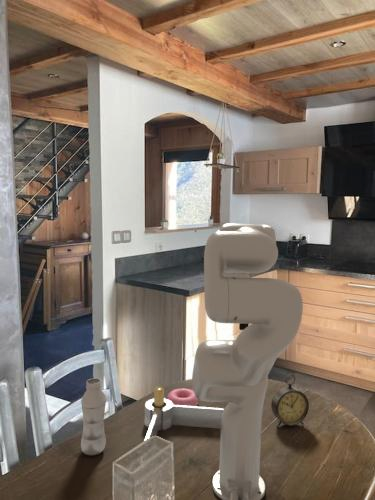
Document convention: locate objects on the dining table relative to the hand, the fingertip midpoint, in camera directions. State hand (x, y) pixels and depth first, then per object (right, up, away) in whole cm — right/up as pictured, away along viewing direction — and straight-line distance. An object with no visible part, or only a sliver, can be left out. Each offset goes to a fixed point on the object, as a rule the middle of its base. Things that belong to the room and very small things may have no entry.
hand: (231, 325), depth 119 cm
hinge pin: (-22, -32, +8) cm, 39 cm away
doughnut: (-14, -31, +20) cm, 40 cm away
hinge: (-15, -33, -1) cm, 36 cm away
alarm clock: (+19, -33, +9) cm, 39 cm away
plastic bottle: (-38, -33, -7) cm, 51 cm away
